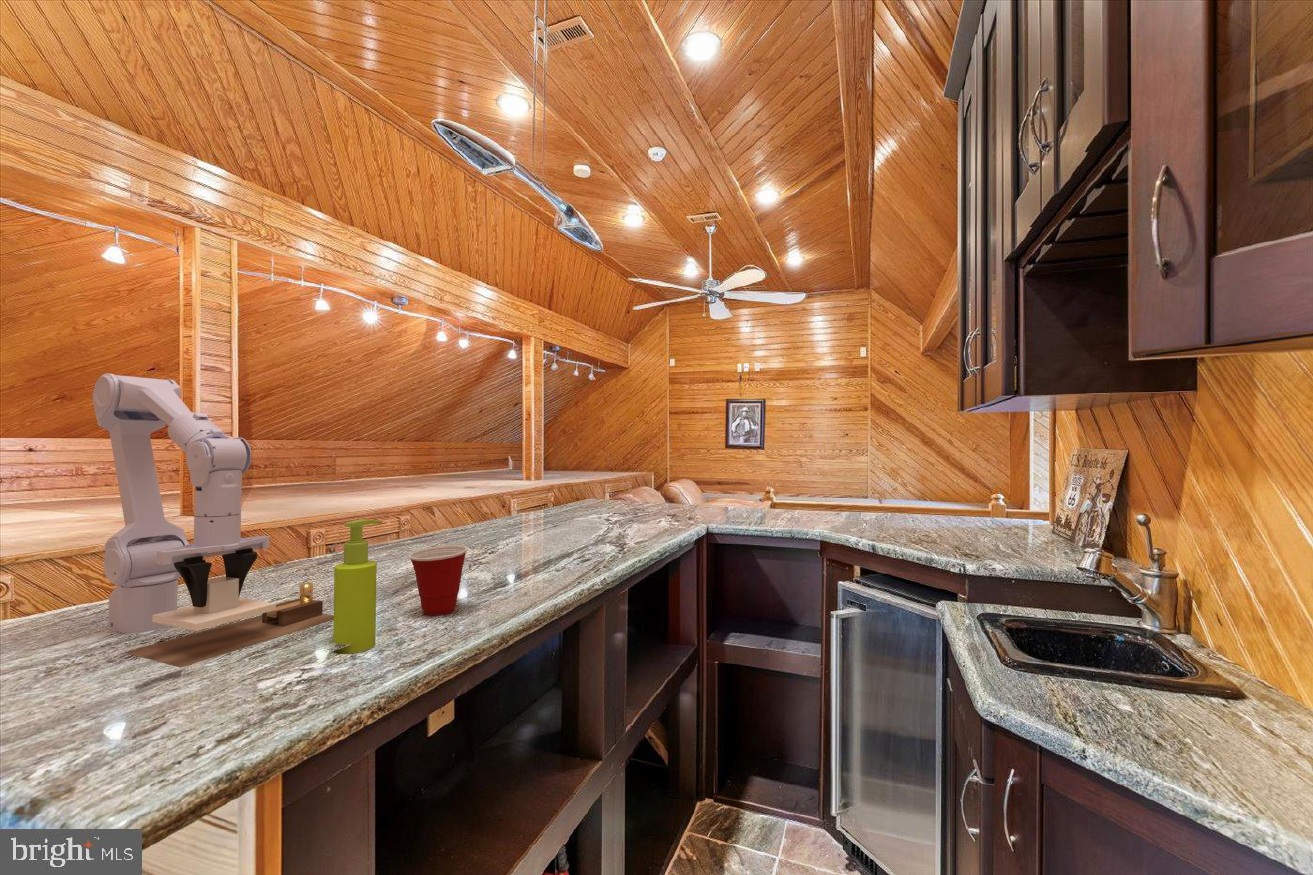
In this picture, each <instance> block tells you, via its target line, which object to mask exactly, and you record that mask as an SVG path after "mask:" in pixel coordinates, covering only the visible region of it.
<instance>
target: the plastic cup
mask: <svg viewBox="0 0 1313 875" xmlns="http://www.w3.org/2000/svg"><path fill="white" fill-rule="evenodd" d="M468 550H469V547H468V546H466V545H461V544H448V545H447V544H446V545H437V546H430V547H425V548H421V549H417V550H415V551H413V552H412V551H411V552H409V554H408V555H407V557H408V559H409V560H410V561H411V564H412V566H413V570H414V575H415V579H416V584H417V590H418V596H419V599H420V605H421V610H422V613H423V614H424V615H425V616H433V617H434V616H435V617H436V616H442V615H443V616H444V615H448V614H451V613H453V612H454V611H455V609H456V605H457V602H458V601H457V600H458V593H459V592H460V585H461V581H462V580H461V579H462V575H463V574H462V573H463V567H464V564H465V559H466V553H467V552H468Z"/></svg>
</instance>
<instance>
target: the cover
mask: <svg viewBox="0 0 1313 875" xmlns="http://www.w3.org/2000/svg"><path fill="white" fill-rule="evenodd" d="M273 610H276V603H275V602H274V603H273V602H268V601H261V600H256V599H251V598H249V599H248V598H243V597H240V596H239V578H232V577H226V575H225V576H224V575H222V576H218V577H213V578H208V582H207V601H206V606H205V607H195V606H193V605H190V606H186V607H181V608H177V610H173V611H168V612H164V613H160V614H155V615H152V622H155V623H160V624H165V625H170V626H169V627H171V626H172V627H175V628H180V629H185V630H190V631H195V632H199V631H201V630H207V629H210V628H213V627H218V626H220V625H221V626H222V625H225V624H227V623H228V624H229V623H233V622H237V621H241V620H243V619H246V618H247V619H248V618H252V617H254V616H255V617H256V616H258V615H262V613H266V612H270V611H273Z"/></svg>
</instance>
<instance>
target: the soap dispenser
mask: <svg viewBox="0 0 1313 875" xmlns="http://www.w3.org/2000/svg"><path fill="white" fill-rule="evenodd" d="M382 523H383V521H381V520H376V519H366V518H365V519H357V520H350V521H348V522H347V521H346V522H344V527H347V528H350V530H349V540H347V541H345V542H344V543H343V562H342V563H337V564H336V565H334V568H333V570H334V572H333V573H334V576H333V578H334V579H333V585H334V586H333V616H334V620H333V626H332V627H333V632H332V633H333V636H332V638H333V639H332V642H333V643H334V644H336V645H341V646H342V645H343V647H341V648H338V649H336V650H333V652H334V654H338V655H353V654H358V653H363V652H367V651H368V650H371V649H372V648H374V647H375V646H376V641H377V640H376V639H377V636H376V633H377V631H376V630H377V629H376V626H377V570H378V568H377V564H378V563H377V562H376V561H372V560H369V541H367V540H365V539H364V538H363V526H367V525H372V524H374V525H375V524H376V525H381V524H382ZM344 645H345V646H344Z"/></svg>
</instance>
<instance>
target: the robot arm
mask: <svg viewBox="0 0 1313 875" xmlns="http://www.w3.org/2000/svg"><path fill="white" fill-rule="evenodd" d="M92 402H93V409H94V413H95V419H96V420H97V421H96V422H97V425H98V427H100V428H102V429H104V430H106V431H107V432H109V436H110V444H111V449H112V455H113V456H112V457H113V461H114V468H115V473H116V479H117V484H118V491H119V497H120V501H121V509H122V514H123V521H124V527H123V528H122V529H120V530H119V531H117V532H116V533H115V534H113V535H112V536H111V537H109V538H108V540H107V541H106V542H105V545H104V553H105V554H104V555H105V557H104V560H103V570H104V574H105V577H106V579H107V580H108V581H109V582H111V583H112V584H113V585H115V587H114V588H113V589H112V591H111V592H110V593H109V594H110V595H109V597H108V618H107V619H108V621H107V623H108V624H107V626H108V628H107V632H103V633H101V634H103V635H104V634H107V633H112V632H115V631H116V632H117V631H118V633H120V634H121V633H122V634H139V633H147V632H153V631H157V630H161V629H164V628H168V627H171V626H170V625H165V624H160V623H155V622H152V615H155V614H160V613H164V612H168V611H173V610H177V609H178V592H179V591H178V587H179V586H178V583H179V579H183V581H184V584H185V586H186V588H187V590H188V593H189V594H188V595H189V596H190V599H191V600H190V601H191V604H192V605H191V606H195V607H205V606H206V601H207V582H208V579H209V576H210V572H211V568H212V565H213V563H212V562H207V561H206V559H204V558H210V557H218V556H221V557H222V560H223V565H224V571H225V577H232V578H239V597H240V595H241V592H242V590H243V585H244V583H245V580H246V578H247V577H248V576H247V575H248V573H249V572H250V570H251V568H252V567H253V564H255V561H256V560H257V559H258V552H257V551H254V550H265V549H269V548H270V547H271V546H270V545H271V544H270V538H271V537H270V536H267V535H258V536H249V537H241V536H242V535H241V534H242V533H241V531H242V529H241V528H242V496H243V494H242V490H243V489H242V488H243V483H242V482H243V474H244V473H246V471H248V469H249V468H250V466H251V462H252V450H251V447H250V444H249V443H248V442H247V440H246V439H245V437H244V438H243V437H233V436H228V435H227V434H226V433H225V432H224V431H223V430H222V429H221V428H219V426H217V425H216V424H215V423H214V422H213V421H212V420H211V419H210V418H209V416H208V415H207V414H206V413H205V412H192V411H191V410H190V409H189V407H188V406H187V405H186V404H185V402H184V401H183V400H182V387H181V386H180V385H179V384H178V383H177V382H176V381H175V380H174V379H170V378H166V379H162V378H161V379H160V378H150V377H140V376H130V375H117V374H114V373H108V372H107V373H104V374H102V375H101V376H100V377H99V378H98V379H97V380H96V382H95V385H94V389H93V391H92ZM166 425H167V426H168V427H167V435H168V437H169V438H170V440H172V441H173V442H174V444H176V445H177V446H178V447H179V449H181V450H182V451H183V452H184V453H185V454H186V455H185V461H186V466H187V469H188V471H189V476H190V479H189V480H190V484H191V486H192V487H194V510H193V511H194V514H193V515H194V516H193V543H192V544H190V543H189V541H188V539H187V538H186V534H185V531H184V529H183V528H181V527H179V526H178V525H175V524H174V523H171V522H170V521H167V520H166V518H165V513H164V512H165V511H164V506H163V502H162V496H161V490H160V485H159V479H158V474H157V469H156V464H155V458H154V452H153V446H152V445H153V444H152V442H151V441H152V440H151V434H152V433H153V432H157V431H158V430H161V429H164V428H165V427H166Z"/></svg>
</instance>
